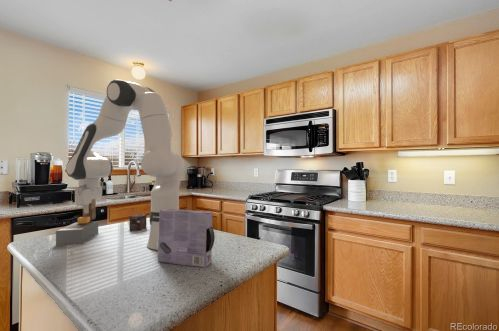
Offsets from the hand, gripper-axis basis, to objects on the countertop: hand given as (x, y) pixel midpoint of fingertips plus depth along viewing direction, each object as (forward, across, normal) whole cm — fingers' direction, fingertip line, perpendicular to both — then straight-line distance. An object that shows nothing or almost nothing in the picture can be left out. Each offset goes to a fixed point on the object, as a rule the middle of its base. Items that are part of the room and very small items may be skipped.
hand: (89, 212), depth 123 cm
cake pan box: (+11, -48, -50) cm, 70 cm away
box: (+11, +3, -22) cm, 24 cm away
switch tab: (+4, -5, 0) cm, 7 cm away
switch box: (+10, -10, 0) cm, 15 cm away
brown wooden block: (+4, 0, 0) cm, 4 cm away
